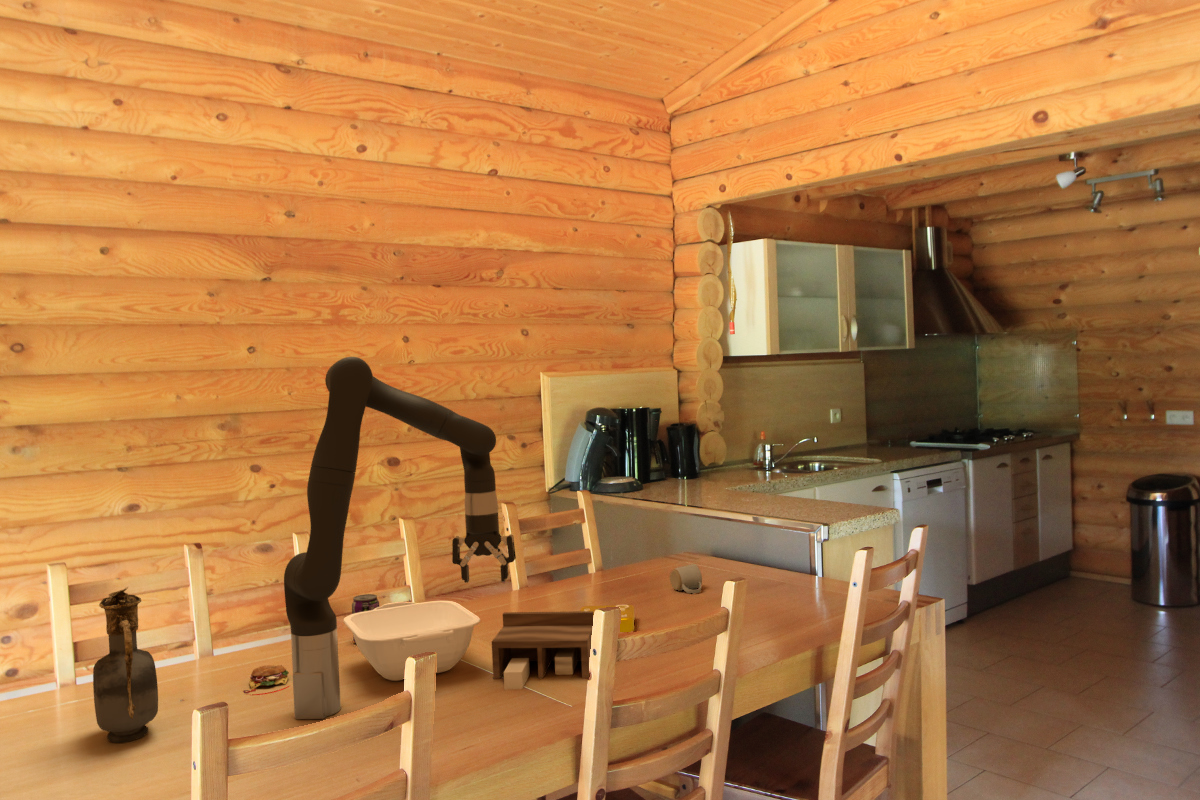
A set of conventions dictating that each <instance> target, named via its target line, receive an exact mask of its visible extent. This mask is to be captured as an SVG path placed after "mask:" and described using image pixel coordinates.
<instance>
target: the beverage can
mask: <svg viewBox="0 0 1200 800" xmlns="http://www.w3.org/2000/svg"><path fill="white" fill-rule="evenodd" d="M352 599H353V601H352V604H351V614H354V613H359V612H364V611H371V610H373V609H375V608H377V607H380V601H379V599H378V595H377V594H374V593H373V594H371V593H365V594H359V595H356V596H353V598H352ZM352 638H353V639H352V641H353V642H355V639H354V636H353V635H352ZM355 643H356V642H355Z"/></svg>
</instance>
